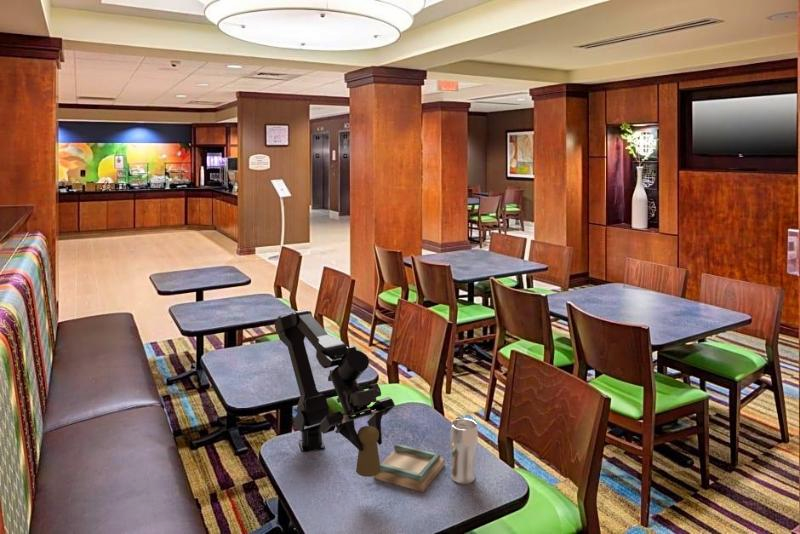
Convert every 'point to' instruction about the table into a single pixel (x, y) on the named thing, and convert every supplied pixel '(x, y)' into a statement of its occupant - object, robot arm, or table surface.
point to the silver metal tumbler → (463, 449)
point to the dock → (410, 467)
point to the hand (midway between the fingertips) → (371, 447)
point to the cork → (368, 452)
